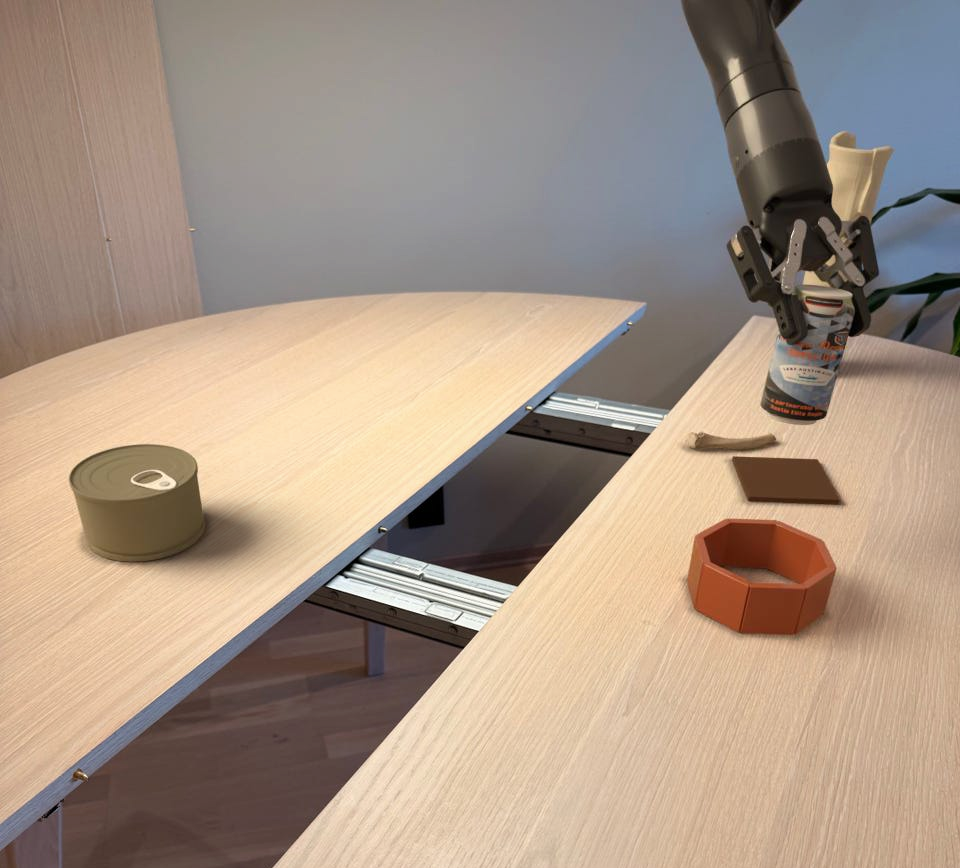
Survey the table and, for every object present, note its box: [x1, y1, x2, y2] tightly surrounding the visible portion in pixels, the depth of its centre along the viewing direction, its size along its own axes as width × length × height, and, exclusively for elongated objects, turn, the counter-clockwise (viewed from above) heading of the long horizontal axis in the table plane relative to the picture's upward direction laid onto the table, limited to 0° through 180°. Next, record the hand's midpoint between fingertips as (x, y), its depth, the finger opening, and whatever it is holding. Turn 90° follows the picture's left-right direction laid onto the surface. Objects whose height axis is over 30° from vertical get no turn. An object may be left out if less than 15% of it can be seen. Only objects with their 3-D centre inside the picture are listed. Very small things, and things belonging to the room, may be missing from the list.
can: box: [68, 443, 206, 563], centre depth 97 cm, size 12×12×7 cm
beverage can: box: [760, 283, 855, 426], centre depth 89 cm, size 6×7×12 cm
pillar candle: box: [802, 130, 894, 287], centre depth 132 cm, size 9×8×30 cm
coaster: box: [731, 455, 841, 505], centre depth 111 cm, size 10×10×1 cm
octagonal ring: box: [686, 518, 838, 636], centre depth 91 cm, size 12×12×5 cm
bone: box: [685, 431, 777, 450], centre depth 118 cm, size 3×11×2 cm, turn 100°
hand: (829, 336), depth 86 cm, fingers closed on beverage can, 6 cm apart
